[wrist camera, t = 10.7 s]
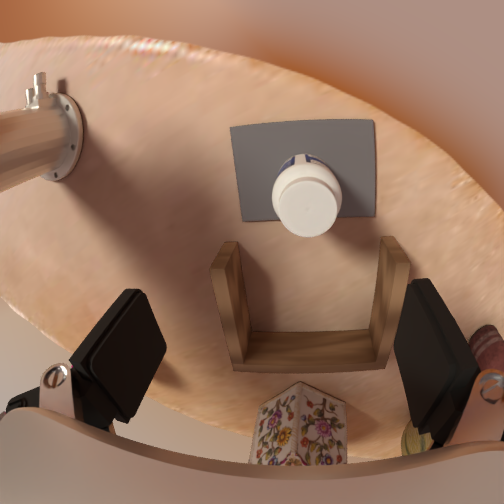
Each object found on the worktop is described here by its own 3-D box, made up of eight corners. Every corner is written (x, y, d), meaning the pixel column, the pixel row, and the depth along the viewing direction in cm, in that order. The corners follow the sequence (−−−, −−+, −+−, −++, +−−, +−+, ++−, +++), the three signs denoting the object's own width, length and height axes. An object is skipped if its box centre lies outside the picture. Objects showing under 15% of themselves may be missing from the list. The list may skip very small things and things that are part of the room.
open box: (224, 242, 31) (209, 269, 26) (393, 236, 28) (410, 262, 22) (242, 339, 38) (233, 371, 33) (377, 336, 34) (385, 368, 29)
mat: (230, 127, 25) (229, 127, 25) (372, 119, 23) (373, 119, 22) (243, 220, 30) (242, 221, 30) (373, 215, 27) (374, 216, 27)
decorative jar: (257, 404, 46) (239, 490, 30) (298, 378, 41) (289, 482, 25) (304, 424, 48) (297, 502, 32) (347, 401, 42) (350, 491, 26)
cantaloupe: (458, 409, 41) (471, 460, 28) (403, 433, 47) (409, 485, 34) (457, 381, 37) (476, 444, 24) (390, 411, 43) (398, 476, 29)
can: (478, 321, 31) (513, 388, 18) (500, 324, 30) (533, 384, 18) (460, 349, 34) (486, 416, 21) (482, 350, 33) (508, 410, 21)
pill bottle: (285, 210, 28) (278, 253, 20) (271, 159, 26) (257, 180, 17) (336, 199, 27) (353, 239, 18) (325, 148, 25) (340, 162, 16)
